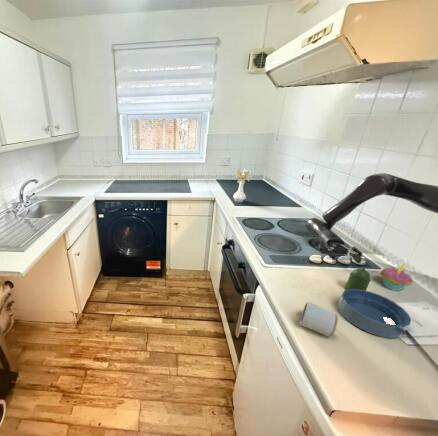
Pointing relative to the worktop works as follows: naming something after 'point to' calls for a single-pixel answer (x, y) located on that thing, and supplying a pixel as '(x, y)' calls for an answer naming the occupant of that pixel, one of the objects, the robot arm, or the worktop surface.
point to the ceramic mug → (319, 319)
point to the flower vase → (241, 184)
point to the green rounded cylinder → (358, 280)
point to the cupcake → (395, 278)
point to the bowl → (373, 313)
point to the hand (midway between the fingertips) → (346, 259)
